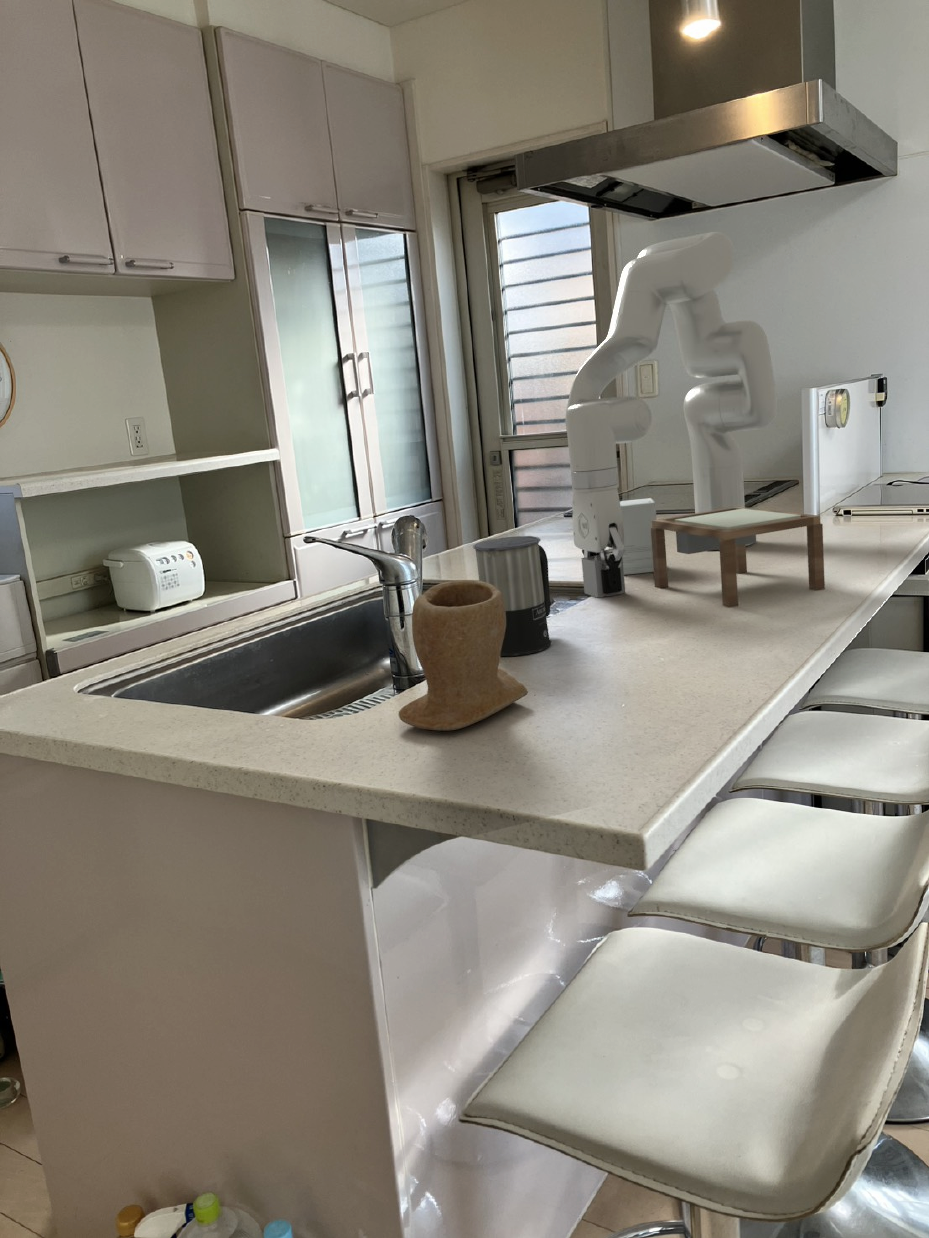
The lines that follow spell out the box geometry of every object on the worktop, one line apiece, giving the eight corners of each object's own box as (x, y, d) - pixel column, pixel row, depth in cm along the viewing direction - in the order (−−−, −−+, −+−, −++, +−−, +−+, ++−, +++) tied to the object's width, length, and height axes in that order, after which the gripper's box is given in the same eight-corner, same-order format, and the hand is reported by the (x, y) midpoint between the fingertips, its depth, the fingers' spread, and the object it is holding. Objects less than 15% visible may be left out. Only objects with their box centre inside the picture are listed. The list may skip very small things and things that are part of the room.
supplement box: (657, 565, 188) (652, 497, 185) (660, 572, 181) (655, 501, 178) (617, 568, 189) (611, 501, 186) (619, 576, 182) (613, 505, 179)
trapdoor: (676, 552, 164) (674, 519, 163) (744, 540, 168) (743, 508, 166) (729, 562, 150) (727, 527, 149) (802, 549, 154) (800, 515, 152)
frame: (654, 586, 169) (650, 520, 166) (741, 570, 173) (738, 506, 171) (728, 607, 148) (724, 532, 146) (824, 588, 153) (822, 515, 151)
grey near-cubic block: (584, 593, 169) (581, 558, 168) (611, 588, 171) (608, 553, 169) (597, 597, 165) (594, 561, 163) (625, 592, 166) (622, 556, 165)
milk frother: (546, 656, 133) (535, 544, 130) (430, 661, 136) (417, 553, 133) (559, 630, 146) (550, 528, 143) (454, 636, 150) (442, 537, 147)
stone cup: (466, 746, 102) (449, 601, 98) (385, 730, 110) (367, 595, 107) (557, 703, 112) (545, 570, 109) (478, 691, 120) (464, 567, 117)
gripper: (552, 481, 170) (562, 586, 174) (597, 486, 155) (607, 601, 159) (592, 475, 173) (601, 579, 177) (641, 479, 157) (650, 593, 161)
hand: (604, 588), depth 168 cm, fingers closed on grey near-cubic block, 5 cm apart
